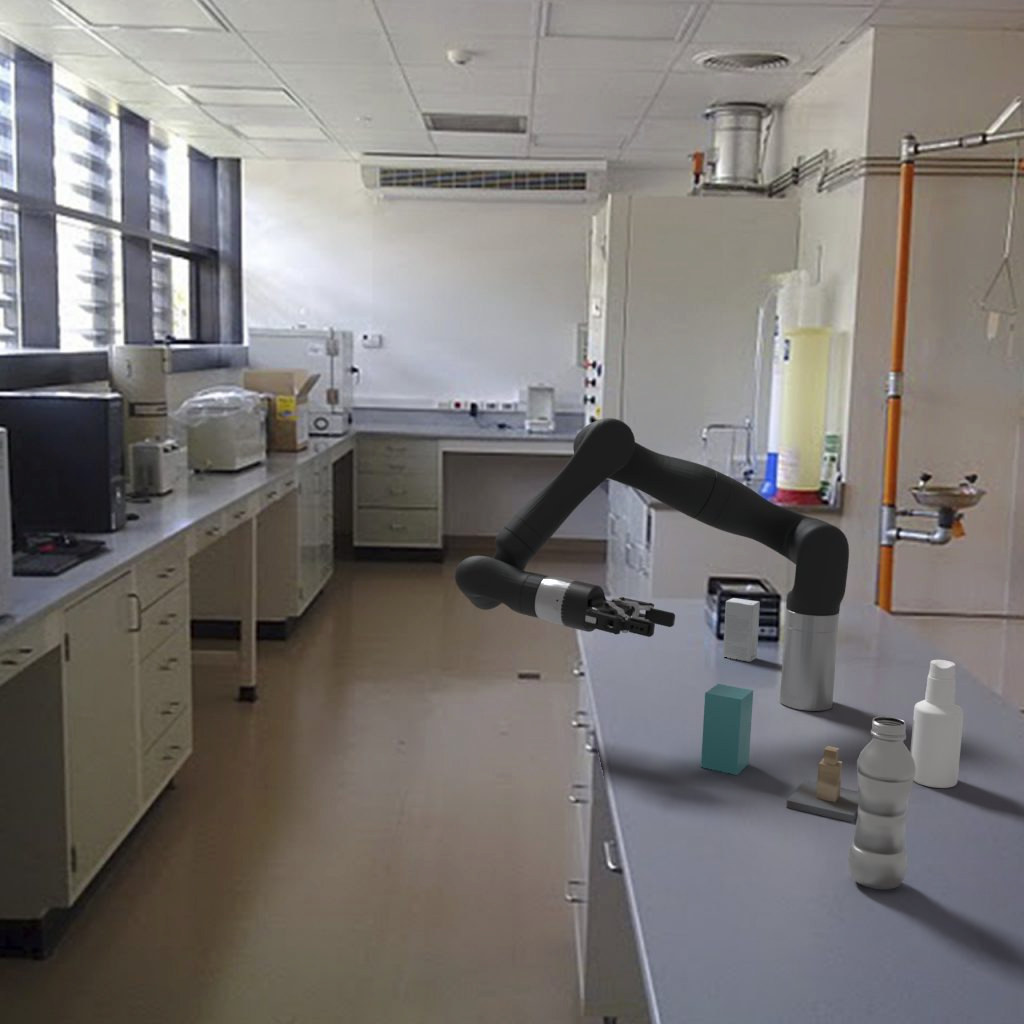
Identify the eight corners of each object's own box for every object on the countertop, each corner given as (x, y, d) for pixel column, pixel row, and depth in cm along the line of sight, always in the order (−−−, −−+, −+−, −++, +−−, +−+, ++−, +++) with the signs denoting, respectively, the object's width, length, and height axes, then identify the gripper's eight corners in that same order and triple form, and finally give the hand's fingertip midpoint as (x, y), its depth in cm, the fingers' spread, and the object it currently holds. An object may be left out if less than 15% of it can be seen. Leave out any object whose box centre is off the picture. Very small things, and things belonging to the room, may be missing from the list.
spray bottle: (956, 775, 168) (966, 659, 166) (958, 792, 162) (969, 671, 159) (908, 769, 171) (918, 654, 168) (908, 784, 164) (918, 665, 162)
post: (804, 786, 162) (808, 733, 161) (867, 800, 158) (872, 745, 157) (786, 807, 155) (790, 751, 153) (852, 822, 150) (857, 765, 149)
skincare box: (757, 658, 231) (760, 601, 229) (749, 662, 228) (753, 605, 226) (729, 653, 234) (732, 597, 233) (721, 657, 231) (725, 600, 229)
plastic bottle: (838, 871, 136) (850, 712, 133) (891, 870, 136) (905, 712, 133) (858, 897, 129) (871, 730, 126) (915, 896, 130) (929, 730, 127)
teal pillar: (713, 756, 173) (717, 683, 172) (748, 763, 171) (753, 690, 169) (700, 767, 169) (705, 692, 167) (736, 775, 166) (741, 699, 164)
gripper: (552, 586, 173) (649, 608, 165) (591, 574, 185) (683, 594, 177) (546, 633, 174) (643, 657, 166) (585, 618, 186) (677, 640, 179)
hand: (663, 625), depth 172 cm, fingers open, 8 cm apart
